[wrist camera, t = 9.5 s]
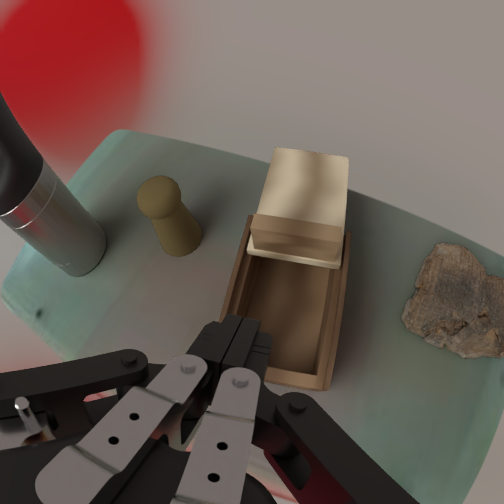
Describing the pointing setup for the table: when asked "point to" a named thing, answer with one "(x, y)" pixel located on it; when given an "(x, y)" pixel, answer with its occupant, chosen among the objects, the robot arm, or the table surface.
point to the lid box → (291, 312)
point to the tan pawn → (169, 216)
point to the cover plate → (302, 209)
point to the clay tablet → (457, 304)
